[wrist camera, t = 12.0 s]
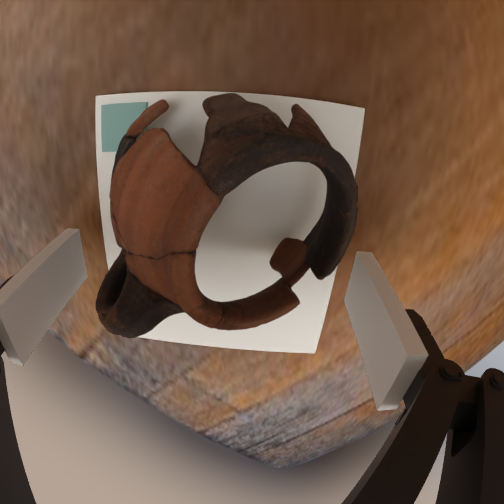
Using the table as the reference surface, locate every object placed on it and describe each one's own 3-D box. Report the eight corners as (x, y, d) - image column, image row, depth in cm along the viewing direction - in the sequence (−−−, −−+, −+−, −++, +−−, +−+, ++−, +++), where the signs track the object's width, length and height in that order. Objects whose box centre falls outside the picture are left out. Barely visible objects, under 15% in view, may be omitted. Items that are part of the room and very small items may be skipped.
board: (357, 107, 14) (366, 108, 13) (312, 341, 21) (315, 356, 20) (106, 95, 14) (92, 96, 13) (126, 323, 21) (119, 337, 20)
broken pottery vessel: (183, 40, 12) (288, 35, 6) (295, 151, 19) (403, 215, 13) (41, 243, 14) (41, 376, 8) (174, 299, 20) (230, 403, 15)
